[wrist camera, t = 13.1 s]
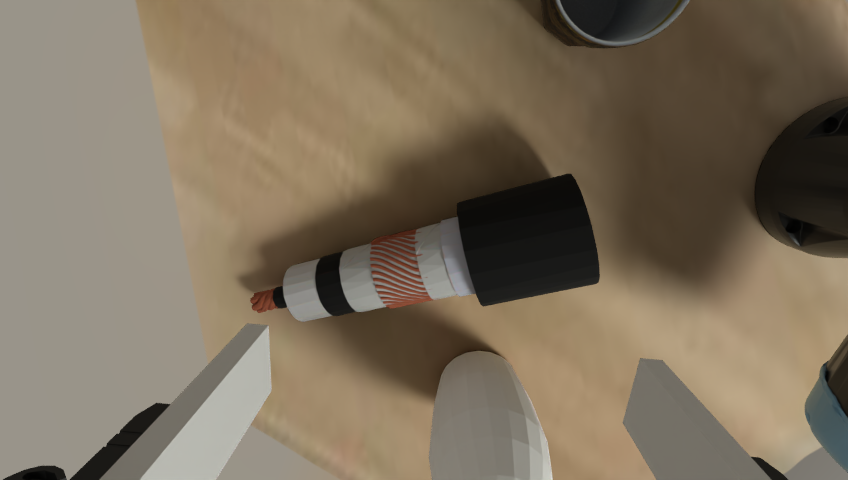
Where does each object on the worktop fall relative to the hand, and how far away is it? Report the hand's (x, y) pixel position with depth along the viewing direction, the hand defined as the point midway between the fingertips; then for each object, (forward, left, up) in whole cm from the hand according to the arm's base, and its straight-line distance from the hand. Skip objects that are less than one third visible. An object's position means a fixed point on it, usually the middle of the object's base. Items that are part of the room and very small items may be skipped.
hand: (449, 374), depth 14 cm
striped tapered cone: (+3, +6, -29) cm, 30 cm away
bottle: (-6, +21, -29) cm, 36 cm away
